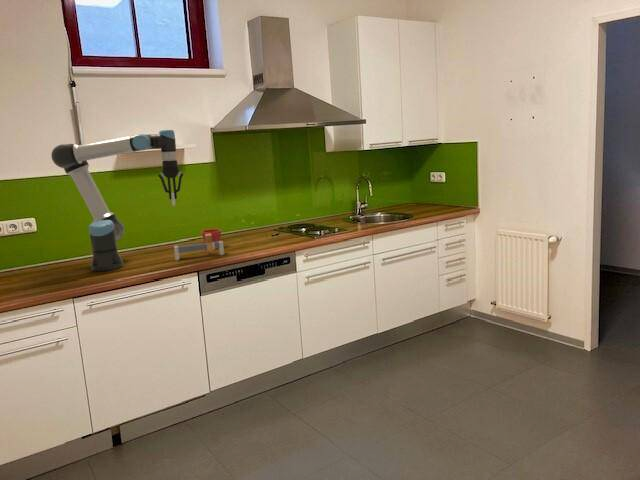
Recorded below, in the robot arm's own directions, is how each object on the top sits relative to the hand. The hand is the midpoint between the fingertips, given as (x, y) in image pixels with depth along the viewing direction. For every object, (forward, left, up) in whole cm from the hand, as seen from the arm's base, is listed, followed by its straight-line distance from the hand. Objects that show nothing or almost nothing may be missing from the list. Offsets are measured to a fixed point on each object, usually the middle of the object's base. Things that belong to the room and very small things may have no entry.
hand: (173, 205), depth 281 cm
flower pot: (+18, +14, -28) cm, 36 cm away
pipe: (+10, -7, -27) cm, 30 cm away
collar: (+16, -7, -26) cm, 31 cm away
